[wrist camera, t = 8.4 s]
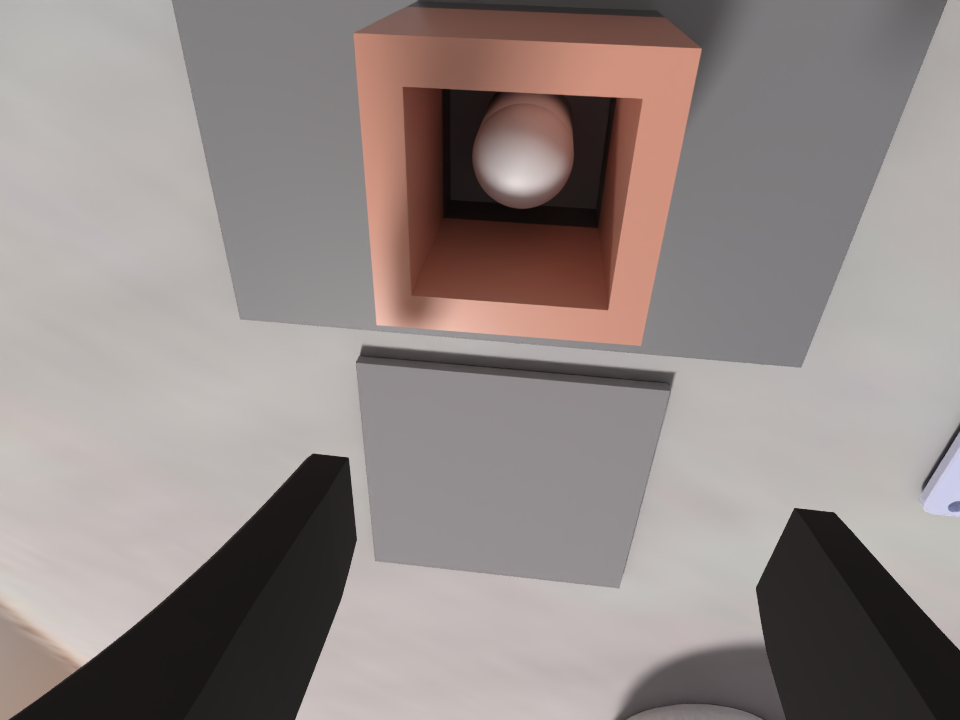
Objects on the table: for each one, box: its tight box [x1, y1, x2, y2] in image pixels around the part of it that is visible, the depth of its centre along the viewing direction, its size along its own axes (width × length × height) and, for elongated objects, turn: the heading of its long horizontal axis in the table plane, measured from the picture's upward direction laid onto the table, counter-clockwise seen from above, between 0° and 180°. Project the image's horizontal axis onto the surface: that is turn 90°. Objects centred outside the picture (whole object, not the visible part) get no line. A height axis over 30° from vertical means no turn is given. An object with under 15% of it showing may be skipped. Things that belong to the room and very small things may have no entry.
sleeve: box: [353, 1, 702, 346], centre depth 12 cm, size 5×5×5 cm
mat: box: [356, 356, 670, 588], centre depth 23 cm, size 10×10×1 cm
